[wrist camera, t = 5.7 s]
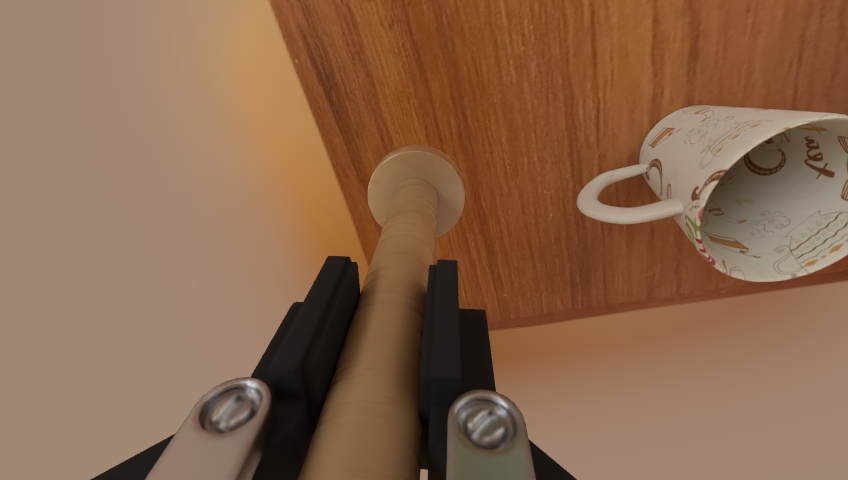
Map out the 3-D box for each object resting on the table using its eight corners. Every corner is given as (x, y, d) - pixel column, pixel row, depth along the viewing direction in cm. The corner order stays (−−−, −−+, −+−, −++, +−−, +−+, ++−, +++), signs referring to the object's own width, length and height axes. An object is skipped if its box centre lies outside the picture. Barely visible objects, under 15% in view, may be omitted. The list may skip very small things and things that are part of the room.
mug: (750, 187, 27) (887, 260, 19) (569, 233, 30) (615, 315, 21) (755, 66, 24) (927, 86, 15) (549, 130, 27) (595, 179, 18)
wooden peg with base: (373, 230, 19) (241, 581, 7) (368, 143, 17) (166, 427, 5) (461, 233, 19) (484, 601, 7) (467, 145, 17) (512, 447, 5)
